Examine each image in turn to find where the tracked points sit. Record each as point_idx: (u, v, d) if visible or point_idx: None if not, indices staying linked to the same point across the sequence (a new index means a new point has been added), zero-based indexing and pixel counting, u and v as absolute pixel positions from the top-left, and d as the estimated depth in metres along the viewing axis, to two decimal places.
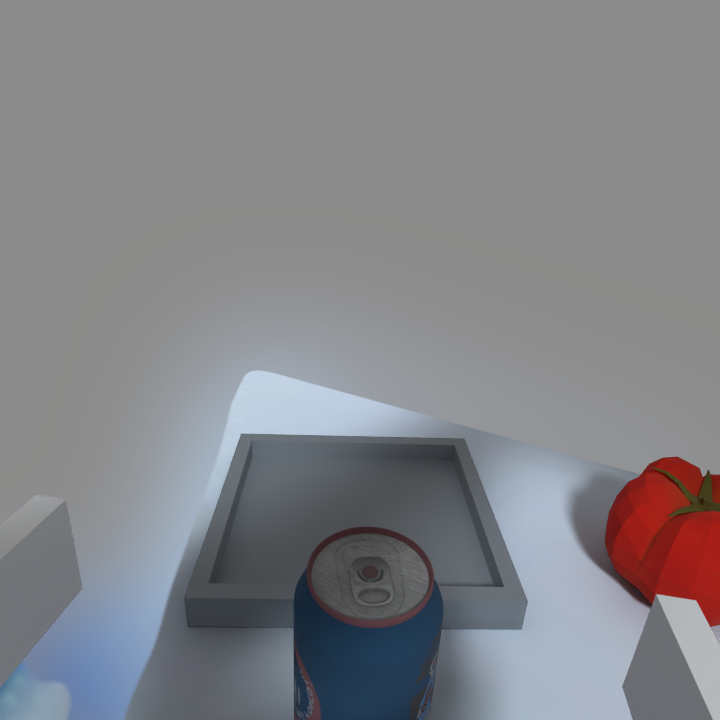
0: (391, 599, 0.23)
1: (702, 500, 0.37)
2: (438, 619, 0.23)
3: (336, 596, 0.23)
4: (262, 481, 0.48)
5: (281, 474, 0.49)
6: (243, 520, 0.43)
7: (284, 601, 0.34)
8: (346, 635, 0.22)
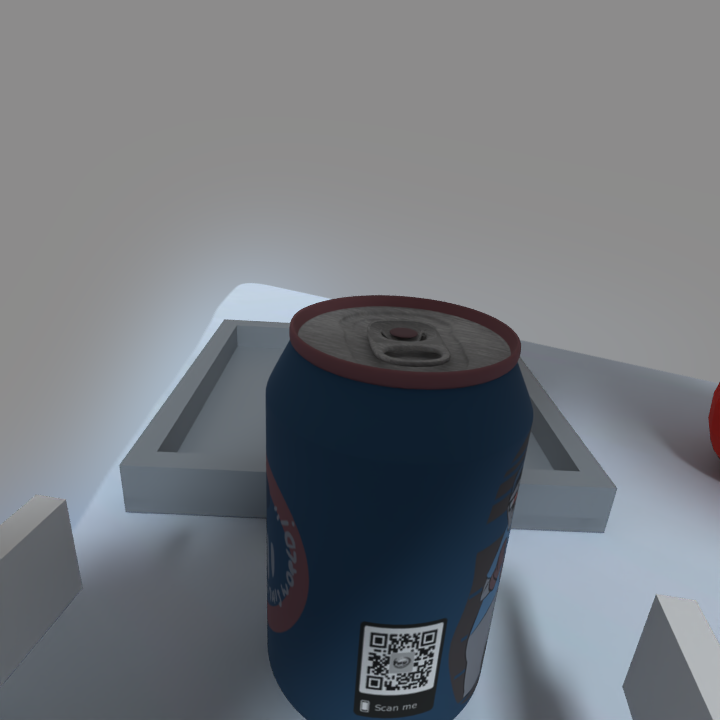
0: (446, 358, 0.12)
1: None
2: (529, 412, 0.13)
3: (342, 354, 0.12)
4: (247, 368, 0.37)
5: (273, 363, 0.39)
6: (219, 402, 0.33)
7: (264, 476, 0.23)
8: (361, 404, 0.11)
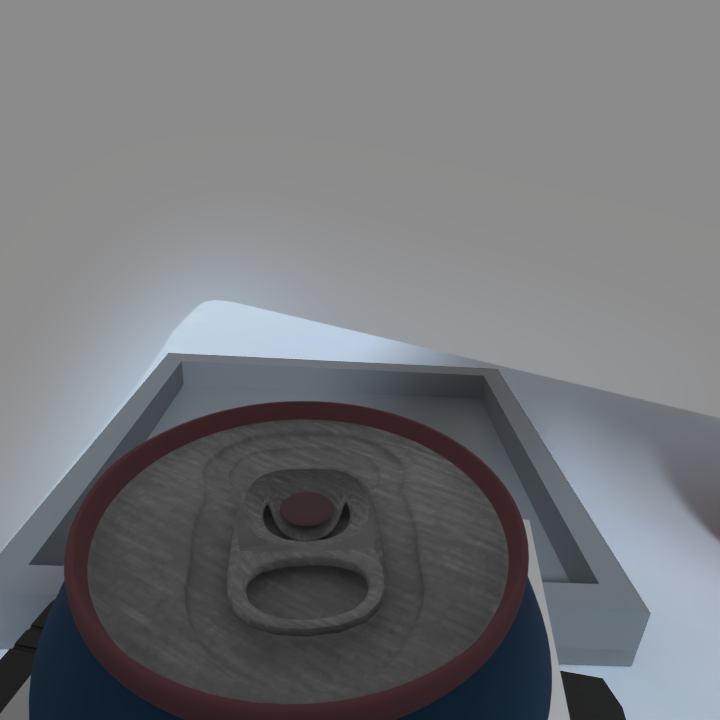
0: (373, 604, 0.06)
1: None
2: (545, 682, 0.06)
3: (163, 588, 0.06)
4: (190, 416, 0.31)
5: (222, 408, 0.32)
6: None
7: None
8: None
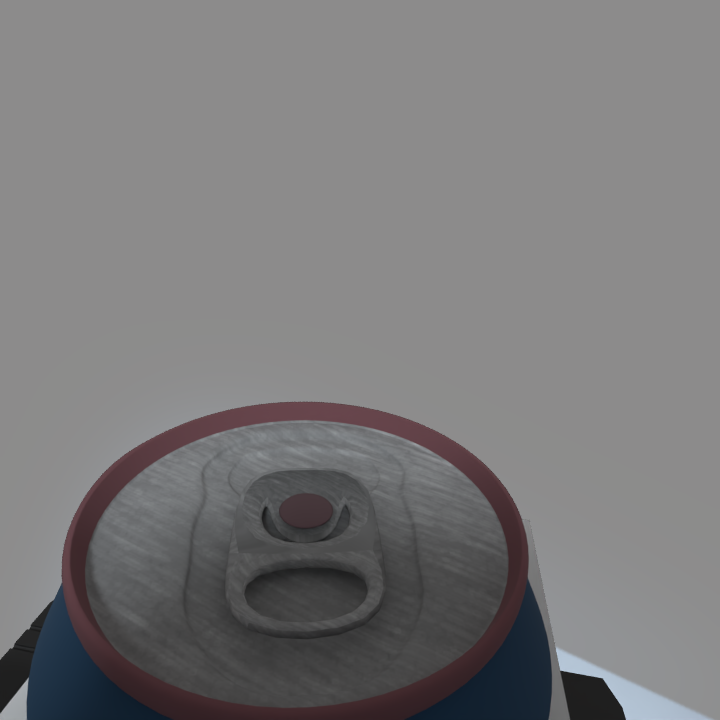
0: (372, 607, 0.06)
1: None
2: (545, 685, 0.06)
3: (161, 590, 0.06)
4: None
5: None
6: None
7: None
8: None
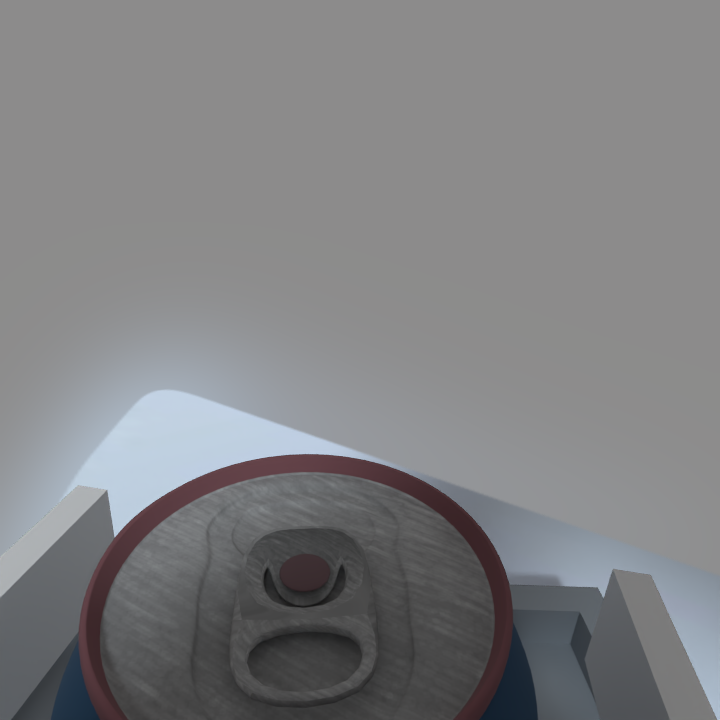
0: (366, 674, 0.06)
1: None
2: None
3: (171, 658, 0.06)
4: None
5: None
6: None
7: None
8: None
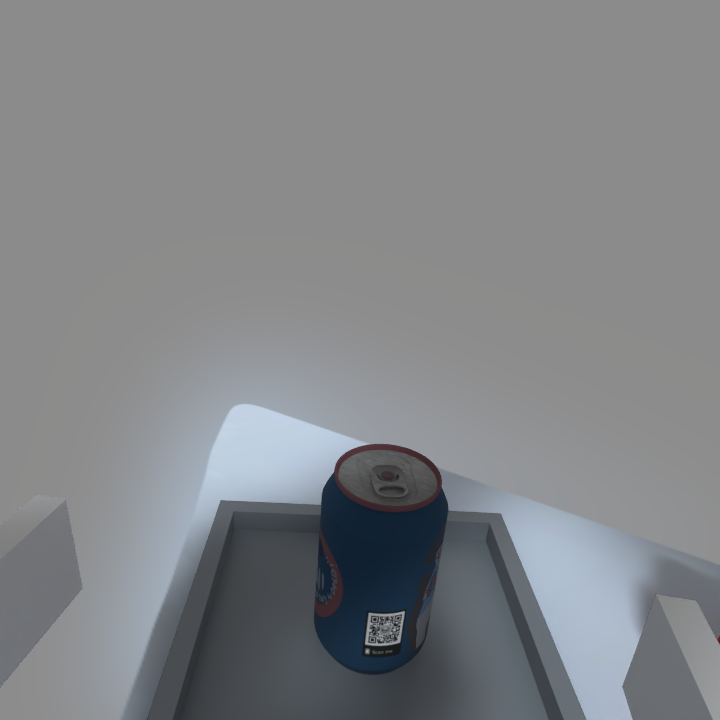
0: (406, 493, 0.27)
1: None
2: (444, 515, 0.28)
3: (360, 490, 0.27)
4: (245, 570, 0.37)
5: (270, 559, 0.38)
6: (217, 635, 0.32)
7: None
8: (369, 518, 0.26)
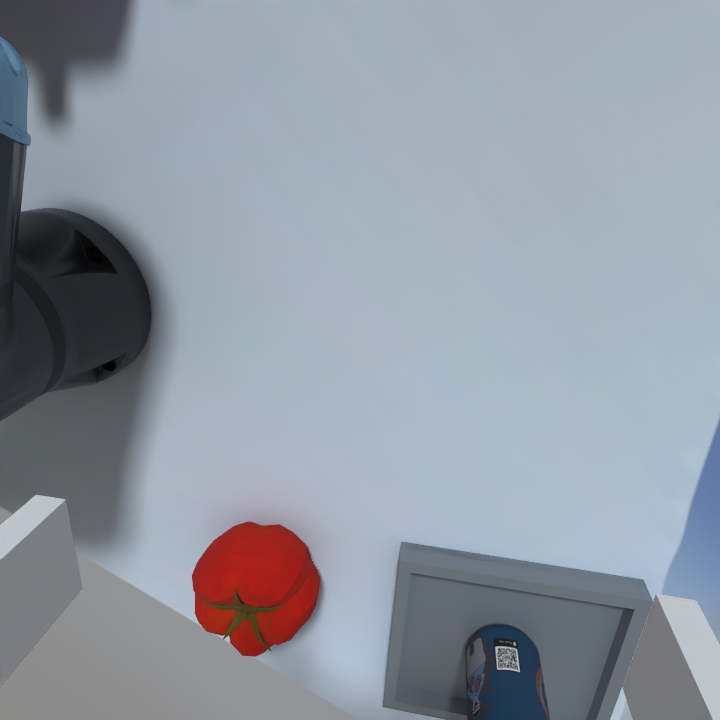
0: None
1: (247, 614, 0.47)
2: None
3: None
4: (578, 692, 0.53)
5: (559, 696, 0.54)
6: (598, 657, 0.51)
7: (576, 587, 0.47)
8: None
